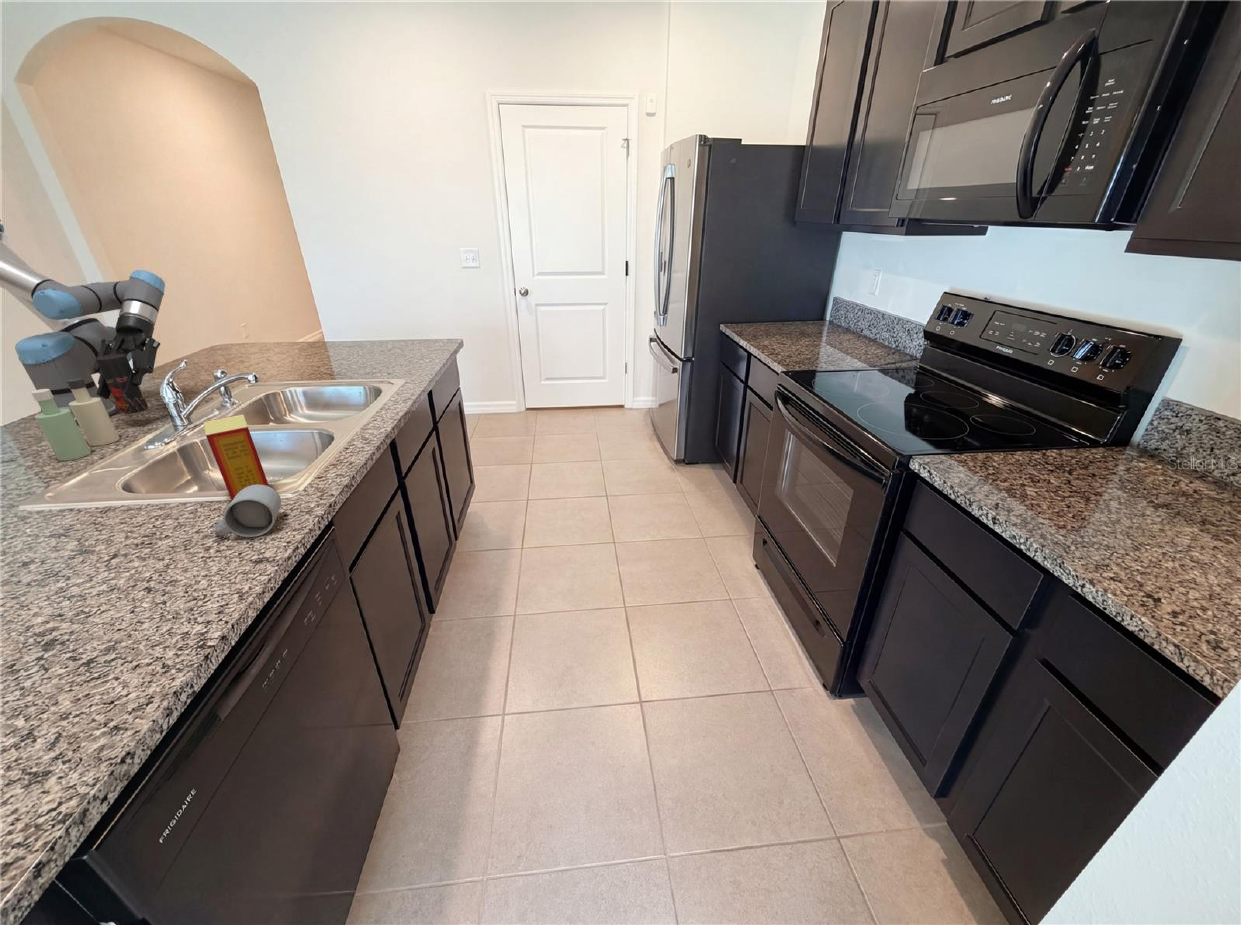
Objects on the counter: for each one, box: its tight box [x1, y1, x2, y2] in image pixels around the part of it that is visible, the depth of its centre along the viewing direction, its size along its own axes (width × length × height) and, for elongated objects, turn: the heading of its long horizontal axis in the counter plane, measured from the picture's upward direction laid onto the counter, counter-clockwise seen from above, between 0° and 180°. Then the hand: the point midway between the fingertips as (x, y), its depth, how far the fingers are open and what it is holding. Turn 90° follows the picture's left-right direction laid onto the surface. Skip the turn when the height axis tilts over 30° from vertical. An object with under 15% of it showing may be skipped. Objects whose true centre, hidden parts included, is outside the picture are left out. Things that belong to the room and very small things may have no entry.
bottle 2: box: [66, 378, 120, 447], centre depth 127 cm, size 6×6×16 cm
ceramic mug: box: [213, 485, 282, 538], centre depth 92 cm, size 11×8×8 cm
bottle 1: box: [30, 389, 92, 462], centre depth 119 cm, size 6×6×16 cm
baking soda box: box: [203, 413, 270, 501], centre depth 102 cm, size 10×6×16 cm
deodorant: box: [96, 354, 150, 415], centre depth 136 cm, size 6×6×15 cm
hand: (116, 396), depth 134 cm, fingers closed on deodorant, 6 cm apart
